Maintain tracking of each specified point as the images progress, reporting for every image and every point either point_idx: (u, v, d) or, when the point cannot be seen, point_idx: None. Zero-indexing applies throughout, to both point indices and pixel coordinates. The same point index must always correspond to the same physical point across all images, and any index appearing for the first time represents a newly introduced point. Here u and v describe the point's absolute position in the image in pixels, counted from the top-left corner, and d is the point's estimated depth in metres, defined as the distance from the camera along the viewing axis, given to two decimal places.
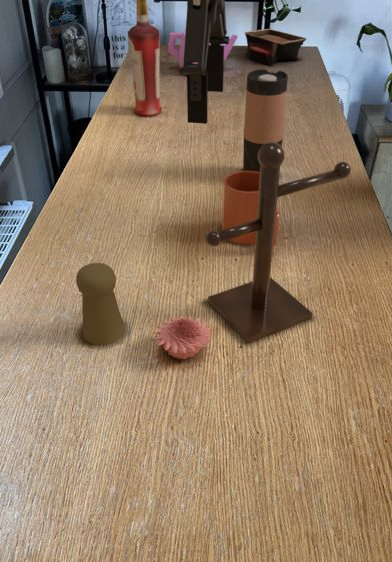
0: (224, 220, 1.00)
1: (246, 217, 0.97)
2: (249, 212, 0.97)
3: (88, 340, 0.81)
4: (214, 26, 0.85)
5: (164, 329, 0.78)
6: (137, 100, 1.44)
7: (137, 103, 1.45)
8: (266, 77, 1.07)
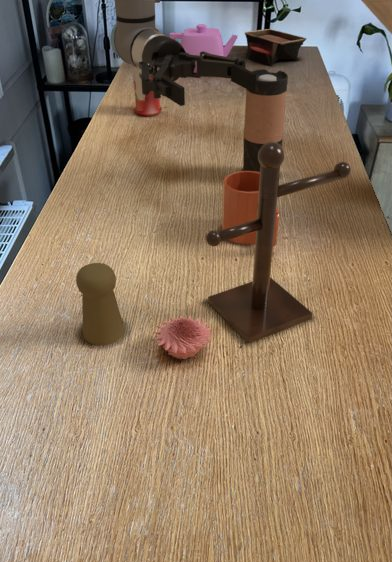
0: (224, 220, 1.00)
1: (246, 217, 0.97)
2: (249, 212, 0.97)
3: (88, 340, 0.81)
4: (214, 68, 1.04)
5: (164, 329, 0.78)
6: (137, 100, 1.44)
7: (137, 103, 1.45)
8: (266, 77, 1.07)
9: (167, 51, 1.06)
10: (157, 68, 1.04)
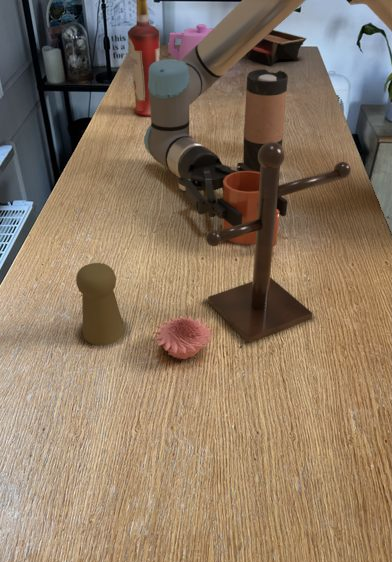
0: (224, 220, 1.00)
1: (246, 217, 0.97)
2: (249, 212, 0.97)
3: (88, 340, 0.81)
4: None
5: (164, 329, 0.78)
6: (137, 100, 1.44)
7: (137, 103, 1.45)
8: (266, 77, 1.07)
9: (203, 163, 1.08)
10: (195, 181, 1.06)
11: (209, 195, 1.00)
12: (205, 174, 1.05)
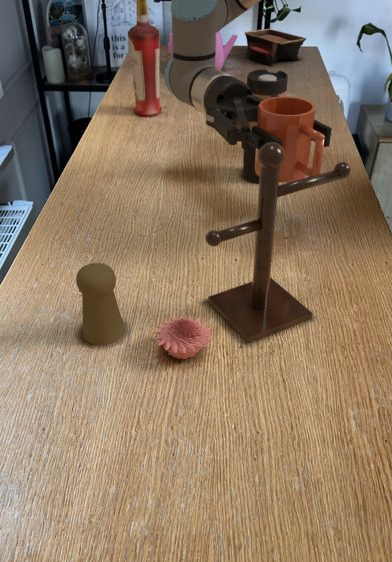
0: None
1: (285, 147, 0.85)
2: (289, 140, 0.85)
3: (88, 340, 0.81)
4: None
5: (164, 329, 0.78)
6: (137, 100, 1.44)
7: (137, 103, 1.45)
8: (266, 77, 1.07)
9: (233, 93, 0.96)
10: (224, 113, 0.94)
11: (242, 123, 0.88)
12: (236, 104, 0.93)
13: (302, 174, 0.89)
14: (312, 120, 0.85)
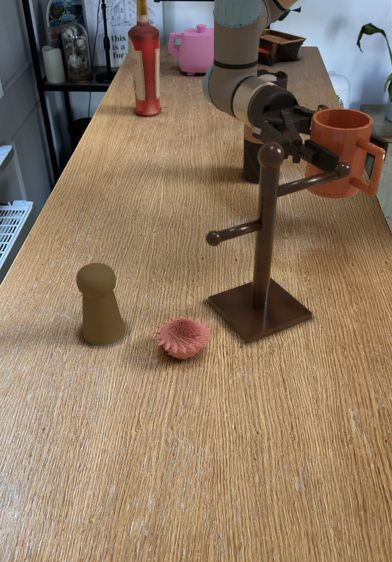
0: (311, 167, 0.84)
1: None
2: (345, 155, 0.81)
3: (88, 340, 0.81)
4: None
5: (164, 329, 0.78)
6: (137, 100, 1.44)
7: (137, 103, 1.45)
8: (266, 77, 1.07)
9: (279, 104, 0.92)
10: (271, 124, 0.90)
11: (293, 137, 0.84)
12: (284, 115, 0.89)
13: (356, 190, 0.85)
14: (369, 134, 0.81)
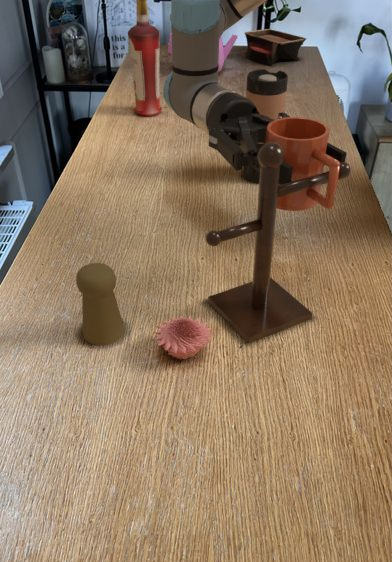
0: None
1: (295, 173, 0.78)
2: (300, 166, 0.77)
3: (88, 340, 0.81)
4: None
5: (164, 329, 0.78)
6: (137, 100, 1.44)
7: (137, 103, 1.45)
8: (266, 77, 1.07)
9: (237, 112, 0.89)
10: (228, 133, 0.87)
11: (248, 147, 0.81)
12: (241, 124, 0.86)
13: (314, 201, 0.82)
14: (325, 144, 0.78)
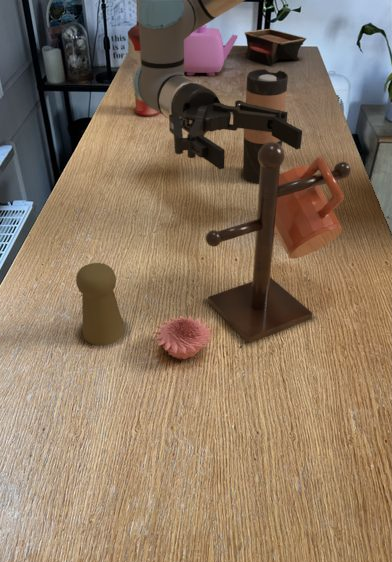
0: (279, 230, 0.82)
1: (297, 200, 0.79)
2: (297, 193, 0.80)
3: (88, 340, 0.81)
4: (253, 120, 0.93)
5: (164, 329, 0.78)
6: (137, 100, 1.44)
7: (137, 103, 1.45)
8: (266, 77, 1.07)
9: (199, 101, 0.95)
10: (189, 121, 0.94)
11: (190, 132, 0.88)
12: (199, 112, 0.92)
13: (333, 222, 0.80)
14: None
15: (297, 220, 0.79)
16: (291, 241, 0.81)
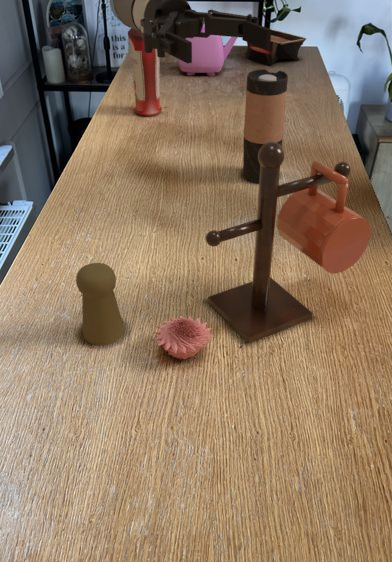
0: (304, 245, 0.79)
1: (309, 209, 0.78)
2: (308, 204, 0.79)
3: (88, 340, 0.81)
4: (224, 26, 0.94)
5: (164, 329, 0.78)
6: (137, 100, 1.44)
7: (137, 103, 1.45)
8: (266, 77, 1.07)
9: (171, 9, 0.96)
10: (161, 26, 0.94)
11: (159, 31, 0.88)
12: (170, 16, 0.93)
13: (353, 214, 0.76)
14: (320, 191, 0.82)
15: (315, 225, 0.77)
16: (317, 247, 0.77)
